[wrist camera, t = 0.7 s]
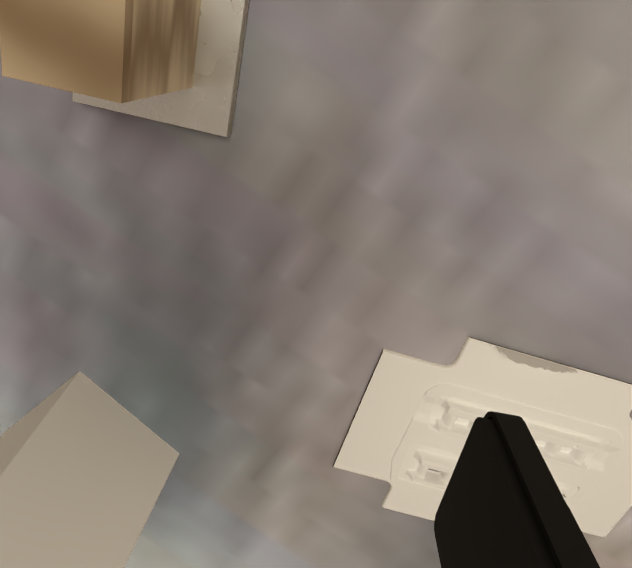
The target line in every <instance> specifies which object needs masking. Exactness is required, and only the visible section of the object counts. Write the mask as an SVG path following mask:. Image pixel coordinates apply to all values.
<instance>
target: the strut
mask: <svg viewBox="0 0 632 568" xmlns="http://www.w3.org/2000/svg"><path fill="white" fill-rule="evenodd" d="M200 8H201V0H0V46H1V63H2V76H6V77H10V78H15V79H19V80H23V81H28V82H32V83H36V84H40V85H45V86H49V87H53V88H57V89H62V90H66V91H70V92H74V93H79V94H83V95H87V96H92V97H96V98H100V99H104V100H109V101H113V102H117V103H126V102H130V101H135V100H139V99H144V98H148V97H153V96H157V95H162V94H166V93H171V92H175V91H180V90H184V89H189V88H193V78H194V68H195V58H196V48H197V38H198V28H199V18H200Z"/></svg>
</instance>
